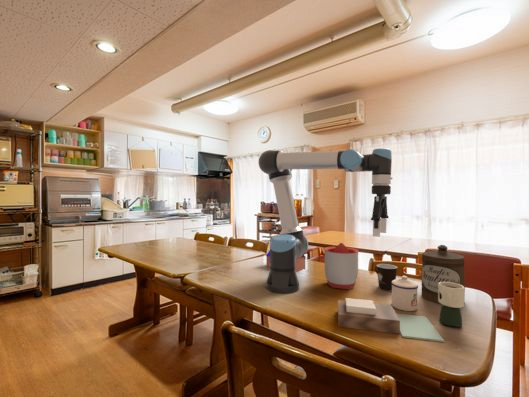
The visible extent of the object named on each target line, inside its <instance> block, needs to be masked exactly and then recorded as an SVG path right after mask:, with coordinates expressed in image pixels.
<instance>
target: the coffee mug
mask: <svg viewBox="0 0 529 397" xmlns="http://www.w3.org/2000/svg"><path fill="white" fill-rule="evenodd" d="M374 269H375V273H376V274H377V280H378V281H377V282H378V288H379V289H380V290H383V291H387V292H388V291H390V292H392V284H391V282H392V281H393V280H395V279H397V273H398V272H397V271H398V266H396V265H394V264H388V263H379V264H378V263H377V264H376V265H375V268H374Z"/></svg>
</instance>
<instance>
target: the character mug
mask: <svg viewBox="0 0 529 397" xmlns="http://www.w3.org/2000/svg"><path fill="white" fill-rule="evenodd" d="M438 302H440V303H441V308H440V313H439V319H438V320H439V322H440V323H441V324H443V325H447V326H449V327H462V326H463V319H462V318H463V317H462V311H461V309H462V308H464V307H465V300H464V286H462V285H460V284H457V283H452V282H439V283H438ZM440 303H439V304H440Z"/></svg>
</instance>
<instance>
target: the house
mask: <svg viewBox="0 0 529 397" xmlns="http://www.w3.org/2000/svg"><path fill="white" fill-rule="evenodd" d="M306 258H307V257H306V256H305V254H304V255H303V256H302V257H300V258H297V259H296V263H295V271H296V273H298V272H301V271H304V270H306ZM266 268H270V250H269V251H268V252H267V254H266ZM303 269H304V270H303Z"/></svg>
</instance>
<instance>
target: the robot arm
mask: <svg viewBox="0 0 529 397" xmlns="http://www.w3.org/2000/svg"><path fill="white" fill-rule="evenodd" d="M392 158H393V157H392V149H390V148H386V147H383V148H382V147H380V148H374V149H373V150H372V152H371V153H369V154H361V152H359V151H358V150H356V149H352V148H349V149H346V150H332V151H330V150H328V151H327V150H326V151H325V150H324V151H297V152H293V151H292V152H291V151H289V152H285V151H283V150H274V149H271V150H265V151H264V152H262V153H261V154H260V156H259V158H258V167H259V169H260V171H262V173H265V174H267V175H268V180H269V182H271V183H272V185H273V190H274V196H275V200H276V205H277V210H278V216H279V221H280V227H281V231H280V232H279V234H276V235H274V236H272V237H271V238H270V242H269V251H270V267H269V272H268V274H267V278H266V280H265V289H266V290H268V291H269V292H272V293H277V294H278V293H279V294H290V293H295V292H297V291H298V290H299V289H300V282H299V278H298V275H297V272H296V271H295V263H296V259H297V258H300V257H302V256H303V255H304V256H305V254H307V251H308V250H309V249H308V248H309V241H308V239H307V237H306V236H305V235H304V231H303V228H301V227H300V226H299V221H298V216H297V212H296V205H295V200H294V196H293V191H292V185H291V179H292V177H293V174H292V171H293V170H344V172H347V173H356V172H357V173H361V172H371V184H372V186H371V194H372V195H375V196H374V197H373V198H374V202H373V208H372V216H371V218H370V221H372V237H378V238H380V237H381V233H383V234H387V220H388V219H389V216H388V204H387V203H388V196H386V195H391V193H392V192H391V189H392V188H391V184H392V181H391V180H393V177H392Z"/></svg>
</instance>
